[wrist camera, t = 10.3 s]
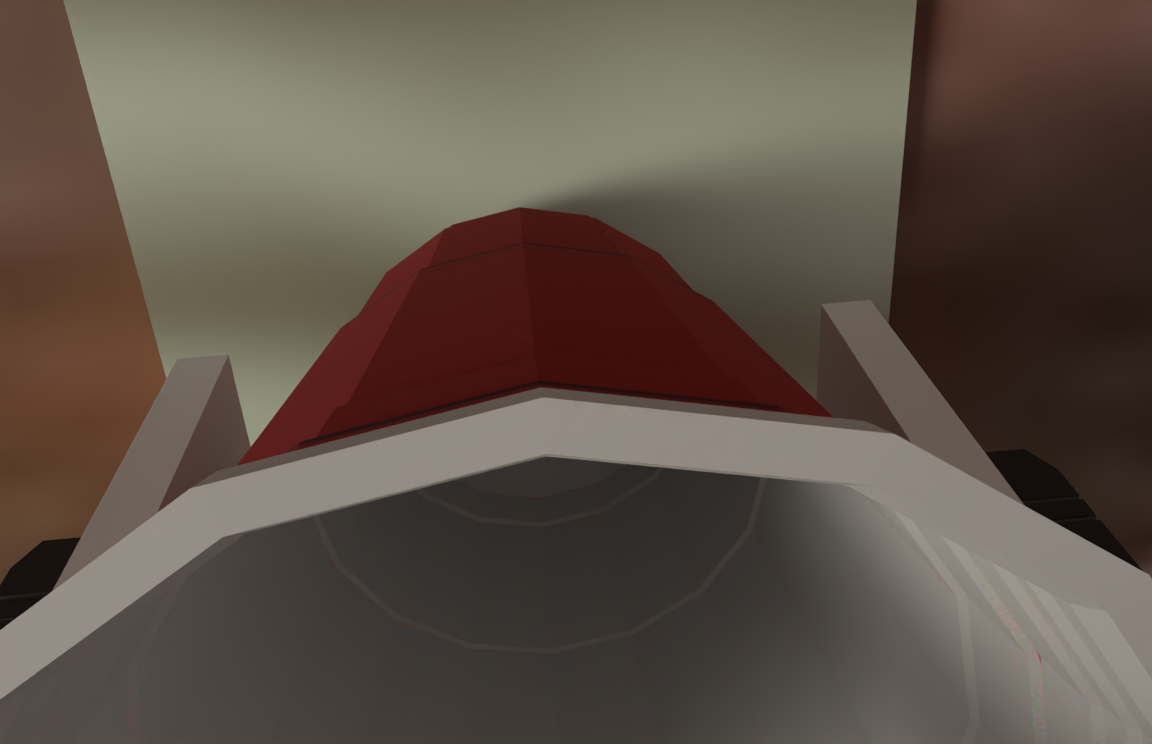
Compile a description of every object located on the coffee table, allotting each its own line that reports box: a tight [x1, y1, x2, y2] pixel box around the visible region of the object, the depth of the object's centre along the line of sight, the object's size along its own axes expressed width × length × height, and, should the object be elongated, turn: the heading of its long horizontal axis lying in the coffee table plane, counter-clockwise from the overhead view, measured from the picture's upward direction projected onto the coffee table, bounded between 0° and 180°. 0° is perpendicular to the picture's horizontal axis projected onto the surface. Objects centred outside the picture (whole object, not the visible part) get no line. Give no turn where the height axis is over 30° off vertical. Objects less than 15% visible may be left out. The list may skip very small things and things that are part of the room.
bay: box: [64, 0, 917, 446], centre depth 20 cm, size 30×13×5 cm, turn 3°
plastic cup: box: [0, 207, 1152, 744], centre depth 13 cm, size 11×11×12 cm
